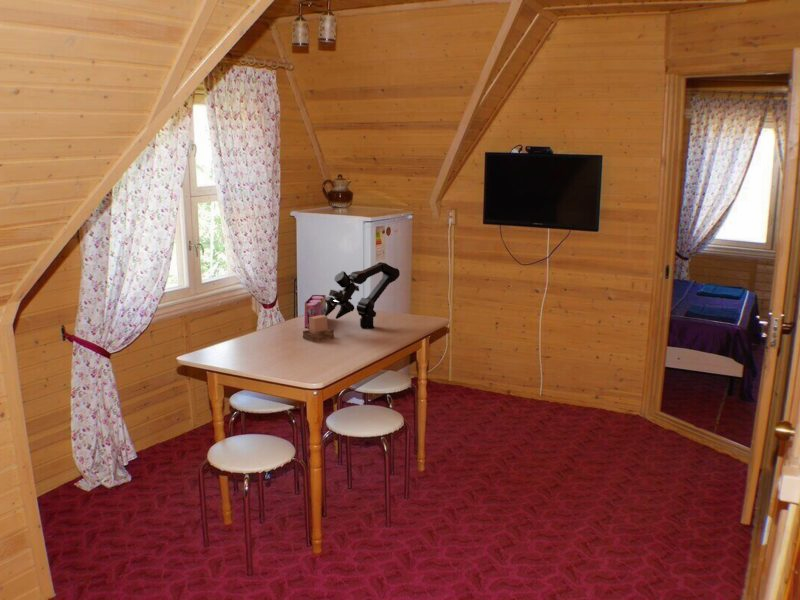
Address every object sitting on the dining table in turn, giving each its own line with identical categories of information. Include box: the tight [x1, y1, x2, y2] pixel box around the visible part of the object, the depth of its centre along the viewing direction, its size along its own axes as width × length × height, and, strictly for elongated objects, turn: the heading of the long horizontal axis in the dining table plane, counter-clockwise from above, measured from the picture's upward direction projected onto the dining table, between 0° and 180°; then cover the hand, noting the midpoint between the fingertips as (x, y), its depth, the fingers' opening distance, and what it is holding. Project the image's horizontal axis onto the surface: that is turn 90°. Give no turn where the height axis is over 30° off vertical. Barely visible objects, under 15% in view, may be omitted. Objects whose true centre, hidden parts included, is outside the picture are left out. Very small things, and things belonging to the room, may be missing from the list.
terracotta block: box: [308, 315, 328, 335], centre depth 374 cm, size 8×4×10 cm, turn 133°
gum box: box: [304, 294, 327, 329], centre depth 404 cm, size 24×8×14 cm, turn 175°
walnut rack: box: [302, 329, 335, 343], centre depth 374 cm, size 13×9×4 cm
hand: (330, 317), depth 378 cm, fingers open, 9 cm apart
